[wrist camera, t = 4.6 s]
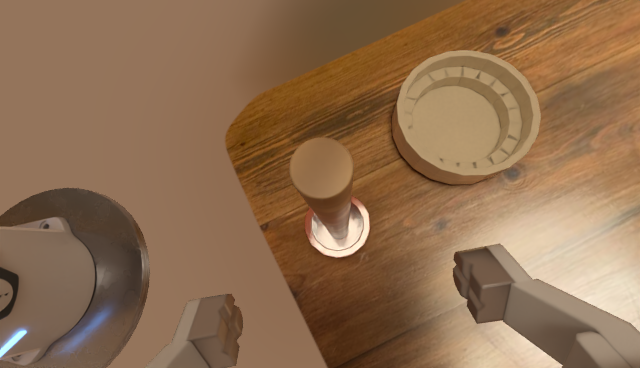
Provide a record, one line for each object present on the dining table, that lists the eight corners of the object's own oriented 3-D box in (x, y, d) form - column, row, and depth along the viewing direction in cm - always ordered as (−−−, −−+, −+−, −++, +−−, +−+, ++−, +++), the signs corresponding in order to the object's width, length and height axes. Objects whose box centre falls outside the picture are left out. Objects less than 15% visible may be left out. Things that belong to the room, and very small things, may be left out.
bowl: (395, 187, 37) (402, 177, 32) (387, 78, 41) (393, 54, 36) (524, 184, 36) (552, 173, 31) (505, 71, 40) (527, 46, 35)
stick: (329, 239, 36) (287, 199, 11) (328, 219, 36) (289, 137, 11) (348, 239, 36) (355, 198, 10) (348, 219, 36) (352, 135, 11)
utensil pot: (312, 257, 36) (304, 258, 29) (312, 203, 38) (305, 192, 31) (366, 257, 35) (371, 257, 29) (364, 202, 37) (368, 190, 30)
